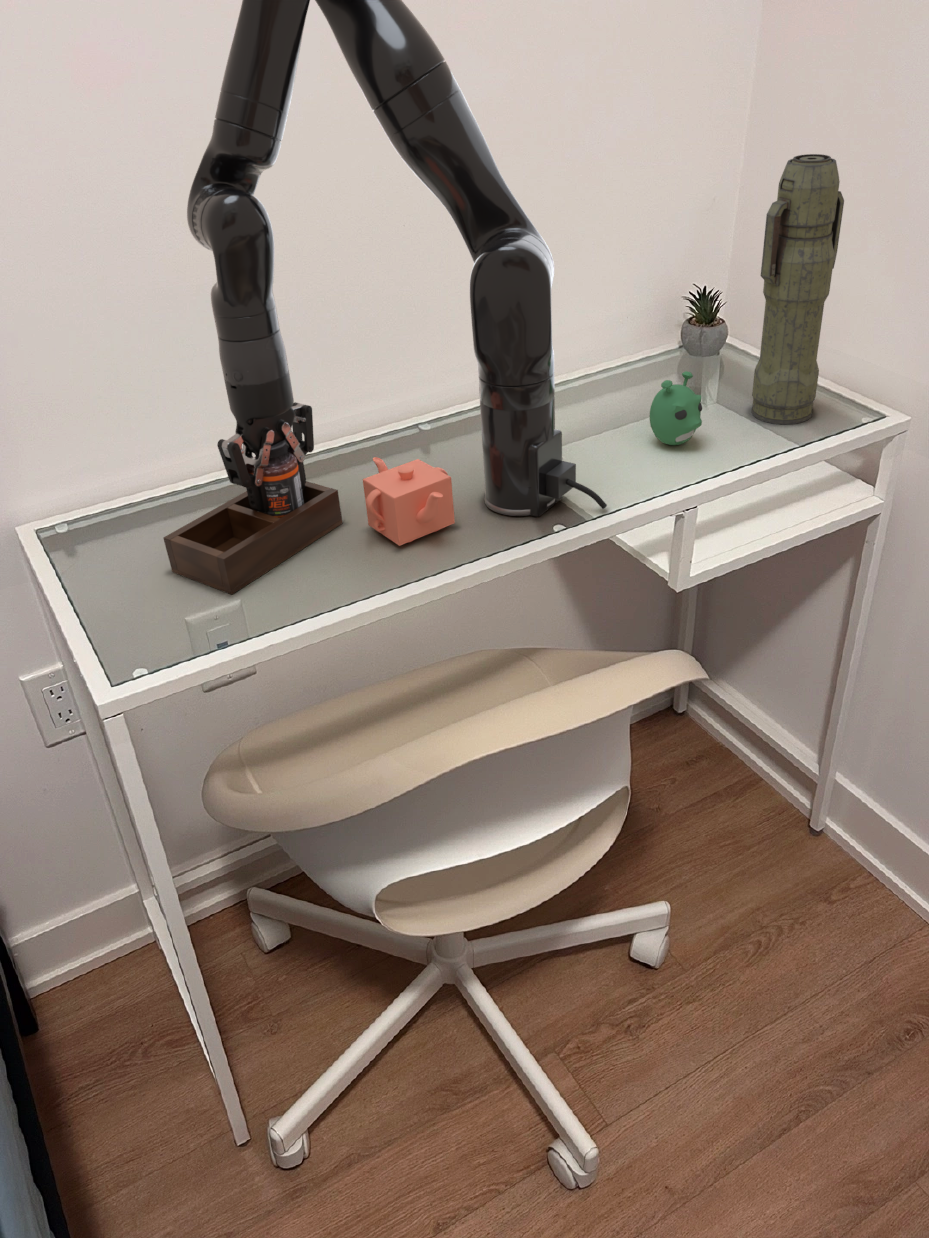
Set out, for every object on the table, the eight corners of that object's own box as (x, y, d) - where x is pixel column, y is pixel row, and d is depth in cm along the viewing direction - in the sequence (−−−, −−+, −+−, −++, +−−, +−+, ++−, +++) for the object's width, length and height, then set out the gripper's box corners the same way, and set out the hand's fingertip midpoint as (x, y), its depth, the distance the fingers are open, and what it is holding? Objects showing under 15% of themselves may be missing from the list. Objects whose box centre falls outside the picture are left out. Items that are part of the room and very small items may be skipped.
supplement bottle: (258, 537, 126) (241, 454, 119) (262, 515, 131) (246, 434, 124) (306, 533, 126) (291, 450, 119) (308, 511, 131) (295, 430, 124)
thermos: (730, 414, 150) (753, 161, 130) (786, 394, 155) (815, 147, 135) (776, 432, 144) (807, 169, 124) (832, 411, 149) (870, 154, 129)
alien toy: (679, 459, 138) (683, 390, 133) (638, 443, 144) (640, 376, 138) (712, 444, 142) (718, 376, 136) (671, 429, 147) (675, 362, 141)
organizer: (342, 523, 129) (337, 489, 127) (231, 595, 116) (223, 559, 114) (284, 505, 135) (278, 472, 132) (172, 572, 122) (162, 537, 119)
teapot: (405, 567, 119) (398, 505, 114) (341, 523, 129) (332, 463, 125) (485, 534, 125) (481, 472, 120) (417, 494, 135) (411, 436, 130)
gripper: (276, 346, 123) (297, 471, 133) (187, 385, 114) (216, 516, 123) (321, 355, 120) (339, 483, 129) (233, 396, 110) (260, 531, 120)
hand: (279, 499), depth 126 cm, fingers closed on supplement bottle, 6 cm apart
